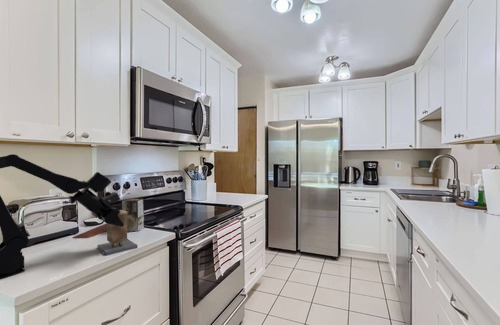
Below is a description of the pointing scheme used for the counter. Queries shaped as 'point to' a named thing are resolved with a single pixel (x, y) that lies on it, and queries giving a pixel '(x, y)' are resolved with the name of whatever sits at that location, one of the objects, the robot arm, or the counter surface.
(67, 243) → the counter surface
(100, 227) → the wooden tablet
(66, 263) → the counter surface
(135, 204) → the coffee box
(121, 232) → the tan square box
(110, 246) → the flat gray plate
